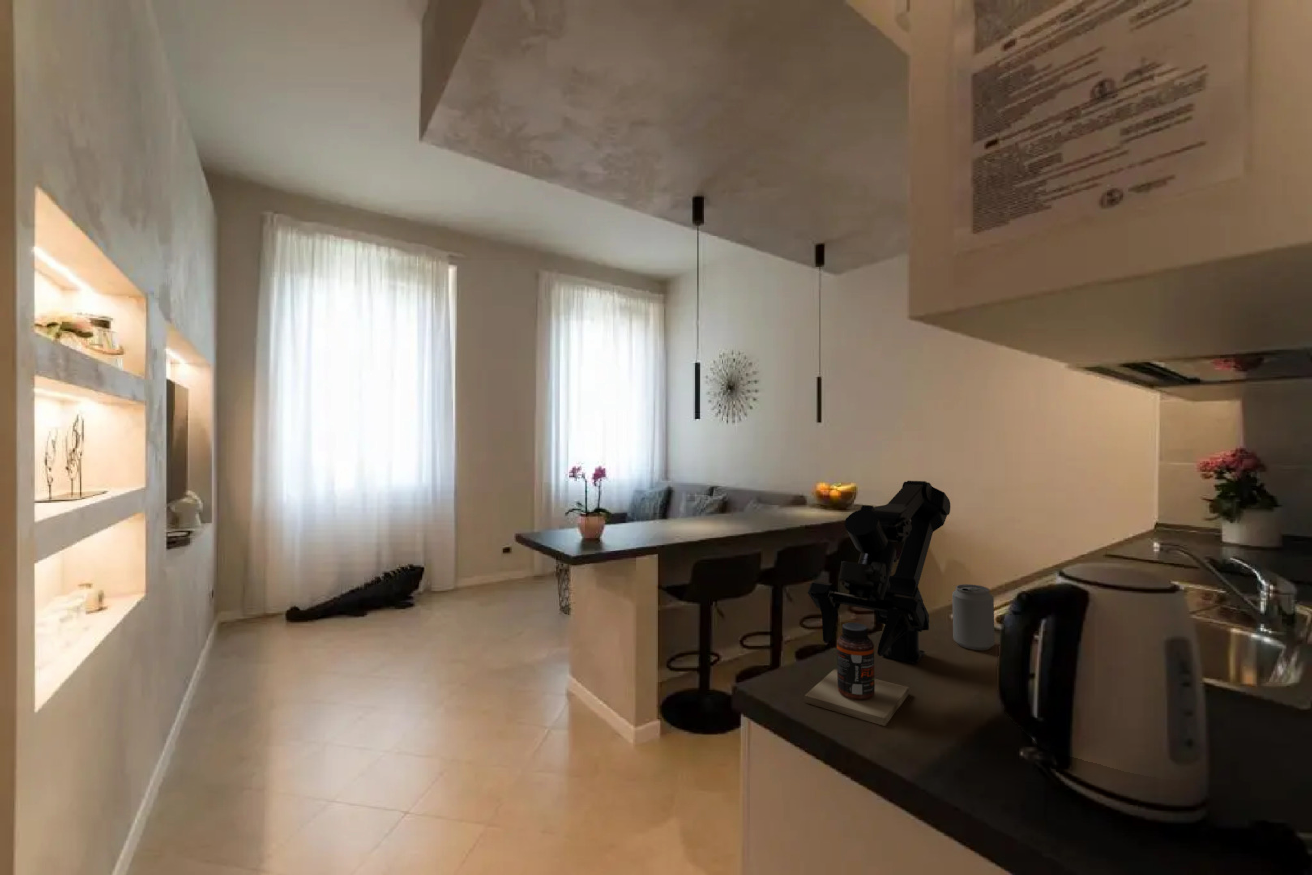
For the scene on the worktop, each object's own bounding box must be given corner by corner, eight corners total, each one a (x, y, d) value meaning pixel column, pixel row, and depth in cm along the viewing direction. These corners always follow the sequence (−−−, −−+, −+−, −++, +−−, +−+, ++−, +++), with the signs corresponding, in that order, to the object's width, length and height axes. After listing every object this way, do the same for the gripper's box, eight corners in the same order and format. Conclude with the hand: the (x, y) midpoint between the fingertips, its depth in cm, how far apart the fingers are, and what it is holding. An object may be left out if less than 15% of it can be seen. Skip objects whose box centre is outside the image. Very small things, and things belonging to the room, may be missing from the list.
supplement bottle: (867, 705, 91) (865, 635, 91) (831, 694, 95) (829, 627, 95) (880, 691, 95) (878, 624, 95) (845, 681, 99) (844, 617, 99)
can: (947, 637, 122) (946, 582, 122) (985, 638, 121) (983, 582, 121) (961, 651, 114) (960, 592, 114) (1001, 652, 113) (1000, 592, 113)
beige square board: (834, 675, 105) (834, 668, 105) (908, 694, 97) (908, 687, 97) (804, 702, 95) (804, 695, 95) (884, 726, 87) (884, 718, 87)
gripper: (810, 537, 104) (782, 612, 96) (917, 548, 92) (896, 636, 84) (830, 570, 110) (805, 644, 102) (933, 586, 98) (914, 671, 90)
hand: (851, 648), depth 94 cm, fingers open, 9 cm apart
